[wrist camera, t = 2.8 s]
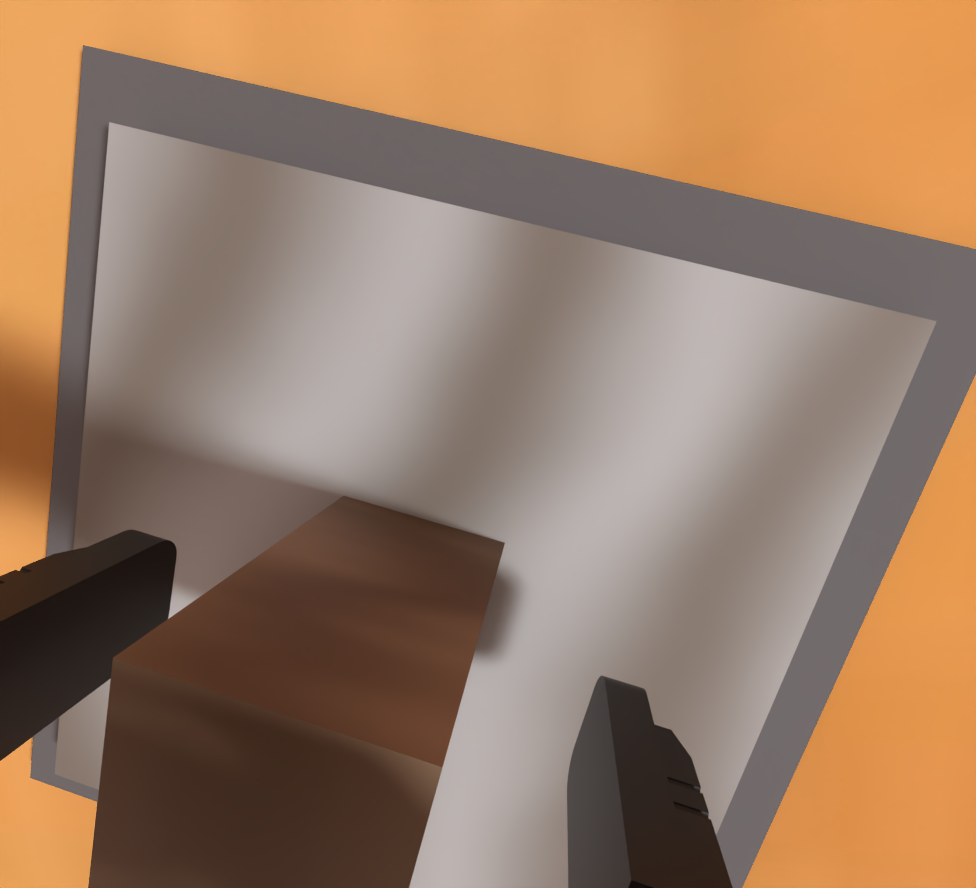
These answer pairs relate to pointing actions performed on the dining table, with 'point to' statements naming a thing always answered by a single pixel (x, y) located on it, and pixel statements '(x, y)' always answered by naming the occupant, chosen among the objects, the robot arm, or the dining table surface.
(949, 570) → the dining table surface
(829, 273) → the mat
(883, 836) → the dining table surface
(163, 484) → the lid
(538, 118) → the dining table surface
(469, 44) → the dining table surface
